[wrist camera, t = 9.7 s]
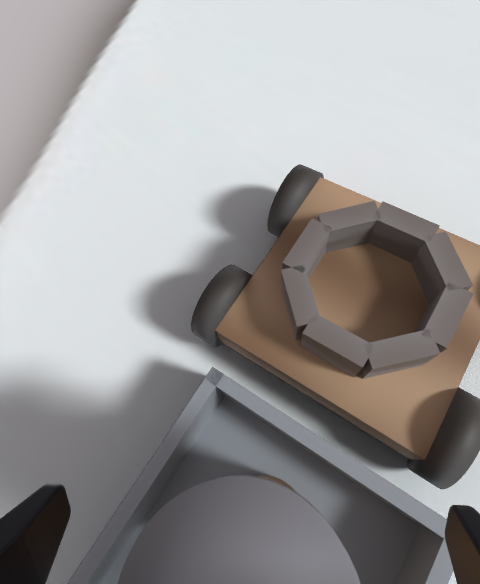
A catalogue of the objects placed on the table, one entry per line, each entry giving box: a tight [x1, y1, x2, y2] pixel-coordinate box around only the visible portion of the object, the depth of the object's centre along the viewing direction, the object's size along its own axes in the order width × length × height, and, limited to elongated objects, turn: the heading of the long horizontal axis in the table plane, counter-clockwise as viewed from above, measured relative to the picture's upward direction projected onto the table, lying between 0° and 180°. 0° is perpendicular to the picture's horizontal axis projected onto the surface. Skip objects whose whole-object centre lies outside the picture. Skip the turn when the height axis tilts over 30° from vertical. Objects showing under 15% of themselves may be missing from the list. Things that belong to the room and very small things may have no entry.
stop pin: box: [118, 475, 360, 584], centre depth 12 cm, size 4×4×11 cm
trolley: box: [191, 165, 480, 489], centre depth 18 cm, size 11×12×5 cm
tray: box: [68, 367, 453, 584], centre depth 15 cm, size 11×11×4 cm
